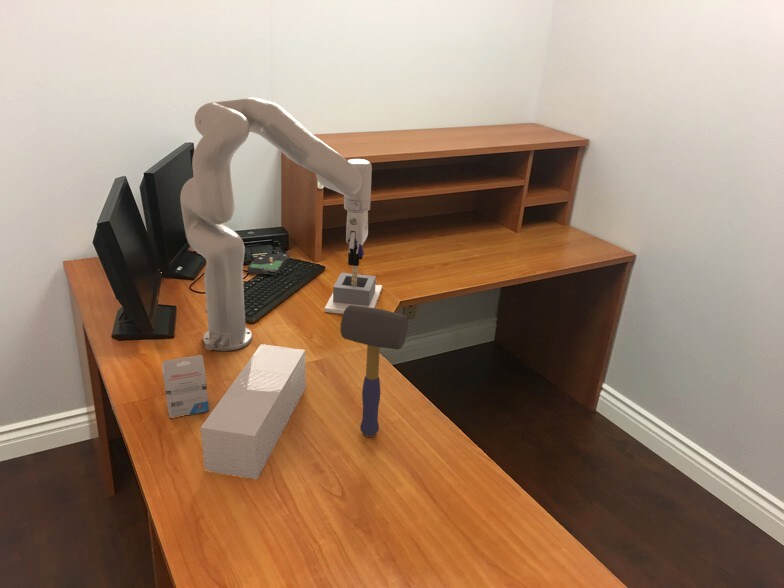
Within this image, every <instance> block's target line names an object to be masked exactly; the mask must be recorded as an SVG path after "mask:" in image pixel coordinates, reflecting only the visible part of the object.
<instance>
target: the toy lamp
mask: <svg viewBox="0 0 784 588" xmlns="http://www.w3.org/2000/svg"><path fill="white" fill-rule="evenodd" d="M355 243H357V241H355ZM354 246H355V247H357V245H354ZM348 252H349V250H348ZM348 252H347V253H348ZM358 253H359V257H361V256H364V254H365V252H364V246H362V245H360V244H359V252H358ZM358 268H359V266H352V270H351V271H352V273H351V274H352V283H351V286H354V287H358V286H357V276H358V273H359V269H358Z"/></svg>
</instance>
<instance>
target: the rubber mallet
mask: <svg viewBox="0 0 784 588" xmlns="http://www.w3.org/2000/svg"><path fill="white" fill-rule="evenodd" d="M339 327H340V329H339V330H340V335H341V338H343V339H344V340H347V341H351V342H355V343H358V344H363V345H366V346H367V348H366V349H367V350H366V351H367V352H366V365H365V366H366V367H365V368H366V370H365V376H364V378H363V379H364V380H363V385H362V389H361V390H362V393H361V401H362V419H361V421H360V422H361V423H360V432H361V433H362V435H363V436H364V437H367V438H373V437H375V436H376V435H377V434H378V432H379V429H380V426H379V425H380V424H379V417H378V416H379V406H380V401H381V380H380V376H379V374H380V373H379V371H380V370H379V369H380V368H379V366H380V348H384V349H392V350H400V349H402V348H403V346H404V344H405V342H406V338H407V334H408V328H409V319H408V317H407V316H406V315H404V314H401V313H397V312H394V311H390V310H385V309H382V308H376V307H375V308H370V307H362V306H353V305H350V306H348V307H347V308H346V309H345V311H344V313H343V314H342V316H341V320H340V326H339Z"/></svg>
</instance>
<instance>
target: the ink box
mask: <svg viewBox="0 0 784 588" xmlns="http://www.w3.org/2000/svg"><path fill="white" fill-rule="evenodd" d="M162 361H163V362H161V367H162V379H163V384H164V385H163V386H164V391H165V398H166V404H167V405H166V406H167V407H166V408H167V411H168V417H169V419H170V418H171V417H177V416H182V415H188V416H191V415H190V414H193V415H196V414H195V413H198V414H202V413H201V412H203V413H207V411H208V412H210V409H209V397H208V387H207V379H206V370H205V369H206V368H205V365H204V364H205V363H204V356H203V355H202V354H198V355H194V356H186V357H179V358H175V359H167V360H162ZM177 418H178V417H177Z"/></svg>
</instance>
